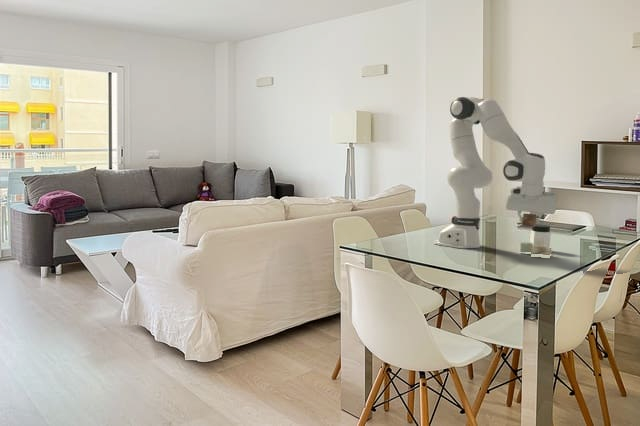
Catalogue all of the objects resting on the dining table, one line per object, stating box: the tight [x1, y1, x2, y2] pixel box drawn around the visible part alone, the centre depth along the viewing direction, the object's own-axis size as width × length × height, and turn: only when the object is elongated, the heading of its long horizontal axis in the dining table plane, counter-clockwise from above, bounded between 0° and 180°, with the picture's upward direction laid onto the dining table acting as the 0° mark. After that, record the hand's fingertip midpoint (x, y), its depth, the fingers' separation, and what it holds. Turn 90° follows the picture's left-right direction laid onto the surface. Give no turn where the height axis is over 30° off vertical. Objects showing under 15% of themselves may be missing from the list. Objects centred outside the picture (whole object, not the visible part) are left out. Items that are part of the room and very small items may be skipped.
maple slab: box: [531, 246, 553, 255], centre depth 250 cm, size 8×8×4 cm
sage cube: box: [518, 241, 533, 252], centre depth 256 cm, size 5×5×5 cm
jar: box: [529, 223, 552, 248], centre depth 264 cm, size 9×8×12 cm
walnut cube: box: [521, 213, 537, 228], centre depth 241 cm, size 5×5×5 cm
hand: (529, 222), depth 241 cm, fingers closed on walnut cube, 5 cm apart
